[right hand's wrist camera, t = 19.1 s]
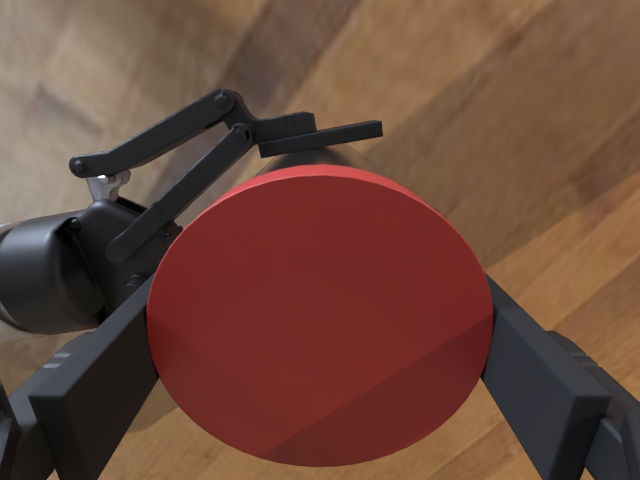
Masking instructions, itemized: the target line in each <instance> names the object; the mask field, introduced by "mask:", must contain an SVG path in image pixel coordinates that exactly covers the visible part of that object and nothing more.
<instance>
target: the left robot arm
mask: <svg viewBox="0 0 640 480" xmlns="http://www.w3.org/2000/svg"><path fill="white" fill-rule="evenodd" d="M222 121H224V122H225V124H226V125H227V127H228V128H229V130H230V131H229V132H228V133H227V134H226V135H225V136H224V137H223V138H222V139H221V140H220V141H219V142H218V143H217V144H216V145H215V146H214V147H213V148H212V149H211V150H210V151H209V152H208V153H206V154H205V155H204V156H203V157H202V158H201V159H200V160H199V161H198V162H197V163H196V164H195V165H194V166H193V167H192V168H191V169H190V170H189V171H188V172H187V173H186V174H185V175H184V176H183V177H182V178H181V179H180V180H178V181H177V182H176V183H175V184H174V185H173V186H172V187H171V188H170V189H169V190H168V191H167V192H166V193H165V194H164V195H163V196H162V197H161V198H160V199H159V200H158V201H156V202H155V203H154V204H152V205H151V206H150V207H149V208H146V207H144V206H141V205H139V204H137V203H135V202H132V201H130V200H128V199H125V198H123V197H120V196H119V195H118V190H119V188H120V187H121V186H122V185H124V184H126V183H128V182H129V180H130V175H131V172H130V169H133V168H136V167H139V166H142V165H144V164H147V163H149V162H151V161H152V160H154V159H156V158H158V157H160V156H161V155H163V154H165V153H167V152H169V151H170V150H172V149H174V148H176V147H178V146H179V145H181V144H183V143H185V142H187V141H188V140H190V139H192V138H194V137H196V136H197V135H199V134H201V133H203V132H205V131H206V130H208V129H210V128H212V127H214V126H215V125H217V124H219V123H221V122H222ZM381 136H383V131H382V122H381V121H377V120H371V121H366V122H361V123H355V124H350V125H344V126H339V127H334V128H328V129H323V130H317V129H316V123H315V117H314V114H313V113H309V112H304V111H303V112H298V113H293V114H287V115H282V116H277V117H271V118H266V119H257V118H255V117H254V116H253V115H251V113H250V112H249V110H248V109H247V107H246V105H245V104H244V101H243V98H242V96H241V95H240V94H239V93H237V92H235V91H231V90H227V89H222V88H219V89H216V90H214V91H212V92H210V93H209V94H207V95H205V96H204V97H202V98H200V99H198V100H197V101H195V102H193V103H191V104H190V105H188V106H186V107H184V108H183V109H181V110H179V111H177V112H176V113H174V114H172V115H170V116H169V117H167V118H165V119H164V120H162V121H160V122H158V123H157V124H155V125H153V126H151V127H150V128H148V129H146V130H144V131H143V132H141V133H139V134H137V135H136V136H134V137H132V138H130V139H129V140H127V141H125V142H124V143H122V144H120V145H118V146H117V147H115V148H113V149H111V150H109V151H101V152H96V153H90V154H84V155H79V156H75V157H72V158H71V159H70V162H69V168H70V170H71V172H72V173H73V174H74V175H75V176H77V177H79V178H86V181H87V183H88V186H89V189H90V192H91V195H92V198H93V200H94V202H93V203H92V204H91V205H90V206H89V207H88V208H87V209H85V210H79V211H73V212H68V213H62V214H56V215H51V216H45V217H40V218H34V219H30V220H27V221H24V222H11V223H6V224H1V225H0V343H3V342H10V341H17V340H24V339H31V338H38V337H43V336H45V335H55V334H62V333H68V332H75V331H81V330H88V329H94V328H98V327H99V326H100V325H101V324H102V323H103V322H104V321H105V320H106V319H107V318H108V317H109V316H110V315H111V314H112V313H113V312H114V311H116V310H117V309H118V308H119V307H120V306H121V305H122V304H123V303H124V302H125V301H126V300H127V299H128V298H129V297H130V296H131V295H132V294H133V293H134V292H135V291H136V290H137V289H138V288H139V287H140V286H141V285H142V284H143V283H144V282H146V281H147V280H148V279H149V278H150V277H151V276H152V275H153V274H154V273H155V272H156V271H157V269H158V267H159V264H160V262H161V261H162V259H163V257H164V256H165V254H166V252H167V251H168V249H169V247H170V246H171V244H172V243H173V242H174V241H175V240H176V238H177V237H178V236H179V235H180V234H181V232H182V231H183V228H182V226H177V224H176V223H175V222H174V220H175V219H176V218H177V217H178V216H179V215H180V214H181V213H182V212H183V211H184V210H186V209H187V208H188V207H189V205H190V204H191V203H192V202H194V201H195V200H196V199H197V198H198V197H199V196H200V195H201V194H202V193H203V192H204V191H205V190H206V189H207V188H209V187H210V186H211V185H212V184H213V183H214V182H215V181H216V180H217V179H218V178H219V177H220V176H221V175H223V174H224V173H225V172H226V171H227V170H228V169H229V168H230V167H231V166H232V165H233V164H234V163H235V162H237V161H238V160H239V159H240V158H241V157H242V156H243V155H244V154H245V153H246V152H247V151H248V150H249V149H251V148H252V147H253V146H254V145H256V144H258V147H259V151H260V155H261V158H266V157H271V156H277V155H282V154H288V153H293V152H299V151H304V150H310V149H315V148H321V147H326V146H332V145H337V144H343V143H348V142H354V141H359V140H365V139H370V138H376V137H381Z"/></svg>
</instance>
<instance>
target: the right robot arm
mask: <svg viewBox="0 0 640 480" xmlns="http://www.w3.org/2000/svg"><path fill="white" fill-rule="evenodd" d="M156 272H157V271H156ZM156 272H155V273H154V274H153V275H152V276H151V277H150V278H149V279H148V280H147V281H146V282H144V283H143V284H142V285H141V286H140V287H139V288H138V289H137V290H136V291H135V292H134V293H133V294H132V295H131V296H130V297H129V298H128V299H127V300H126V301H125V302H124V303H123V304H122V305H121V306H120V307H119V308H118V309H117V310H116V311H114V312H113V313H112V314H111V315H110V316H109V317H108V318H107V319H106V320H105V321H104V322H103V323H102V324H101V325H100V326H99V327H98V328H97V329H96V330H95V331H94V332H85V333H83V334H82V335H80V336H78V337H77V338H75V339H73V340H71V341H70V342H68V343H67V344H66V345H65V346H63V347H62V348H61V349H60V350H59V351H58V352H57V353H56V354H55V355H54V357H51V358H50V359H49V360H48V361H47V362H46V363H45V364H44V365H43V367H42V368H39V369H38V370H37V371H36V372H35V373H34V374H33V375H32V376H31V377H29V378H28V379H27V380H26V381H25V382H24V383H23V384H22V385H21V386H20V387H18V388H17V389H16V390H15V391H14V392H13V393H12V394H11V395H10V396H9V397H7V395H6V392H5V390H4V387H3V385H2V382H1V380H0V480H47V478H48V477H49V476H50V474H51V473H52V472H53V470H54V469H56V471H57V474H58V477H59V479H60V480H97V479H98V478H99V476H100V474H101V473H102V471H103V469H104V468H105V466H106V464H107V463H108V461H109V459H110V458H111V456H112V455H113V453H114V451H115V450H116V448H117V446H118V445H119V443H120V441H121V440H122V438H123V436H124V435H125V433H126V431H127V430H128V428H129V427H130V425H131V423H132V422H133V420H134V418H135V417H136V415H137V413H138V412H139V410H140V408H141V407H142V405H143V403H144V402H145V400H146V399H147V397H148V395H149V394H150V392H151V390H152V389H153V387H154V385H155V384H156V382H157V380H158V379H159V375H158V372H157V370H156V367H155V365H154V363H153V360H152V356H151V352H150V348H149V344H148V337H147V327H146V318H147V303H148V298H149V294H150V289H151V284H152V282H153V279H154V277H155V274H156ZM484 274H485V277H486V280H487V283H488V286H489V289H490V293H491V299H492V306H493V336H492V341H491V346H490V351H489V355H488V358H487V361H486V365H485V368H484V370H483V372H482V374H481V376H480V377H481V379H482V381H483V382H484V384H485V386H486V387H487V389H488V391H489V392H490V394H491V396H492V397H493V399H494V401H495V402H496V404H497V405H498V407H499V409H500V410H501V412H502V414H503V415H504V417H505V419H506V420H507V422H508V424H509V425H510V427H511V429H512V430H513V432H514V433H515V435H516V437H517V438H518V440H519V442H520V443H521V445H522V447H523V448H524V450H525V452H526V453H527V455H528V457H529V458H530V460H531V461H532V463H533V465H534V466H535V468H536V470H537V471H538V473H539V475H540V476H541V478H542V480H580V478H581V476H582V473H583V471H584V468H585V467H586V469H587V470H588V471H589V473H590V474H591V475H592V477H593V478H594V479H595V480H640V402H639V401H638V400H637V399H635V398H634V397H633V396H632V395H631V394H630V393H629V392H628V391H627V390H626V389H624V388H623V387H622V386H621V385H620V384H619V383H618V382H617V381H616V380H614V379H613V378H612V377H611V376H610V375H609V374H608V373H607V372H606V371H605V370H603V369H602V368H601V367H598V365H597V363H596V362H595V361H593V360H592V359H591V358H590V357H589V356H586V353H585V352H584V351H582V350H581V349H580V348H579V347H578V346H577V345H576V344H575V343H574V342H572V341H571V340H569V339H567V338H566V337H564V336H562V335H560V334H559V333H557V332H555V331H545V330H544V329H543V328H542V327H541V326H540V325H539V324H538V323H537V322H536V321H535V320H534V319H533V318H531V317H530V316H529V315H528V314H527V313H526V312H525V311H524V310H523V309H522V308H521V307H520V306H519V305H518V304H517V303H516V302H515V301H514V300H513V299H512V298H511V297H510V296H509V295H508V294H507V293H506V292H505V291H504V290H503V289H501V288H500V287H499V286H498V285H497V284H496V283H495V282H494V281H493V280H492V279H491V278H490V277H489V276H488V275H487V274H486V273H485V272H484Z"/></svg>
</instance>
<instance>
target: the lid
mask: <svg viewBox="0 0 640 480" xmlns="http://www.w3.org/2000/svg"><path fill="white" fill-rule="evenodd" d="M146 327H147V337H148V344H149V348H150V352H151V356H152V360H153V363H154V365H155V367H156V370H157V372H158V375H159V377H160V379H161V381H162V382H163V384H164V386H165V387H166V389H167V391H168V392H169V394H170V395H171V397H172V398H173V399H174V401H175V402H176V403H177V404H178V406H179V407H180V408H181V409H182V410H183V411H184V412H185V413H186V414H187V415H188V416H189V417H190V418H191V419H192V420H193V421H194V422H195V423H196V424H198V425H199V426H200V427H201V428H203V429H204V430H205V431H207V432H208V433H209V434H211V435H212V436H214V437H216V438H217V439H219V440H220V441H222V442H224V443H225V444H227V445H229V446H232V447H234V448H236V449H238V450H240V451H242V452H245V453H247V454H250V455H253V456H256V457H258V458H262V459H265V460H269V461H273V462H277V463H283V464H289V465H295V466H308V467H334V466H343V465H351V464H357V463H362V462H366V461H371V460H375V459H378V458H381V457H384V456H387V455H390V454H393V453H395V452H397V451H400V450H402V449H404V448H406V447H409V446H410V445H412V444H414V443H416V442H417V441H419V440H421V439H423V438H425V437H426V436H427V435H429V434H430V433H432V432H433V431H434V430H436V429H437V428H439V427H440V426H441V425H442V424H443V423H444V422H445V421H447V420H448V419H449V418H450V417H451V416H452V415H453V414H454V413H455V412H456V411H457V410H458V409H459V407H460V406H461V405H462V404H463V403H464V402H465V401H466V399H467V398H468V396H469V395H470V393H471V392H472V390H473V389H474V387H475V386H476V384H477V382H478V380H479V378H480V376H481V374H482V372H483V370H484V368H485V365H486V361H487V358H488V355H489V351H490V346H491V341H492V336H493V306H492V299H491V293H490V289H489V286H488V283H487V280H486V277H485V274H484V271H483V269H482V267H481V265H480V263H479V261H478V259H477V257H476V255H475V253H474V252H473V251H472V249H471V248H470V246H469V245H468V244H467V242H466V241H465V240H464V238H463V237H462V235H461V234H460V233H459V232H458V231H457V230H456V229H455V228H454V227H453V226H452V225H451V224H450V223H449V222H448V221H447V220H446V219H445V218H444V217H442V216H441V215H440V214H439V213H438V212H437V211H435V210H434V209H433V208H432V207H431V206H429V205H428V204H427V203H426V202H425V201H423V200H422V199H421V198H419V197H418V196H417V195H415V194H414V193H412V192H411V191H410V190H408V189H407V188H405V187H403V186H401V185H399V184H397V183H395V182H394V181H392V180H390V179H387V178H385V177H382V176H379V175H377V174H374V173H372V172H369V171H364V170H360V169H356V168H351V167H347V166H336V165H325V164H322V165H301V166H295V167H289V168H284V169H278V170H275V171H272V172H269V173H266V174H263V175H260V176H257V177H255V178H253V179H251V180H249V181H247V182H244V183H242V184H240V185H238V186H237V187H235V188H234V189H232V190H231V191H229V192H228V193H226V194H225V195H223V196H222V197H220V198H219V199H218V200H217V201H215V202H214V203H213V204H212V205H211V206H210V207H208V208H207V209H206V210H205V211H204V212H202V213H201V214H200V215H199V216H198V217H197V218H196V219H195V220H194V221H192V222H191V223H190V224H189V225H188V226H187V227H186V228H185V229H184V230H183V231H182V232H181V234H180V235H179V236H178V237H177V238H176V240H175V241H174V242H173V243H172V244H171V246H170V247H169V249H168V251H167V252H166V254H165V256H164V257H163V259H162V261H161V262H160V264H159V267H158V269H157V272H156V274H155V277H154V279H153V282H152V284H151V289H150V294H149V298H148V303H147V318H146Z"/></svg>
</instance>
